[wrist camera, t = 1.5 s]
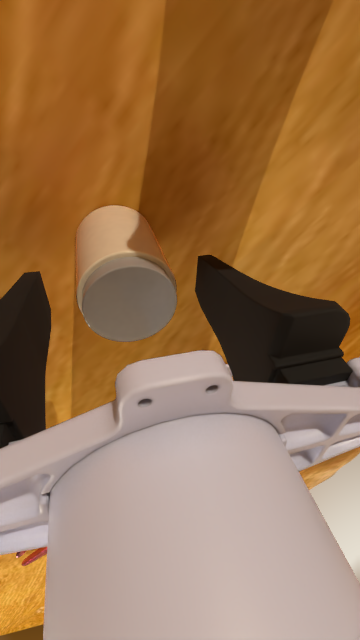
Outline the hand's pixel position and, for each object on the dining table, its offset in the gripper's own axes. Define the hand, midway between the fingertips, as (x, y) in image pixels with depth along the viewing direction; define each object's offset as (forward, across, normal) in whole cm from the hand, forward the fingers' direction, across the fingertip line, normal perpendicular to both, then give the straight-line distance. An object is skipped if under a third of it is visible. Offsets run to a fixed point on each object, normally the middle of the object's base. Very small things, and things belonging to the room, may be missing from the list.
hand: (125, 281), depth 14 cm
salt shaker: (+4, 0, 0) cm, 4 cm away
